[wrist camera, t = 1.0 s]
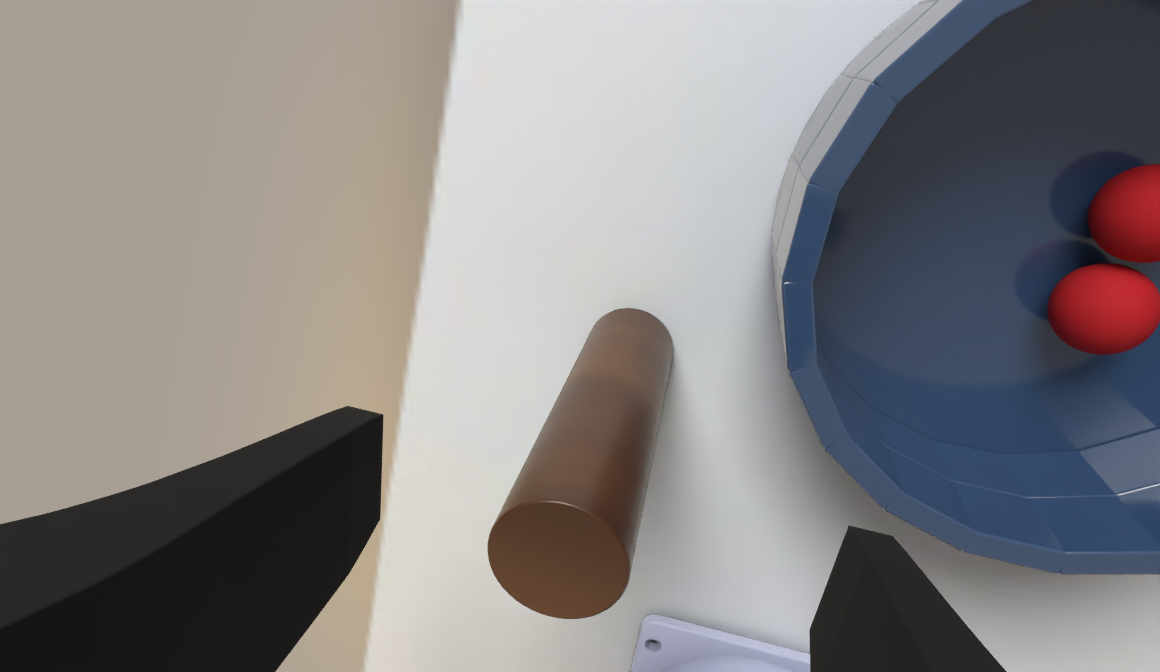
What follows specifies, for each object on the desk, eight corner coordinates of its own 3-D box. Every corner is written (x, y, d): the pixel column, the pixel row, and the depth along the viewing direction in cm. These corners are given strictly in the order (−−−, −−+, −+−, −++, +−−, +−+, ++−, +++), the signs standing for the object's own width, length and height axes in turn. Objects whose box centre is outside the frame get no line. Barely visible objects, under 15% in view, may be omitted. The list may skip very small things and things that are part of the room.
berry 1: (1151, 256, 15) (1205, 284, 14) (1056, 239, 16) (1098, 264, 14) (1194, 165, 15) (1260, 183, 13) (1094, 150, 15) (1143, 164, 13)
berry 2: (1108, 341, 16) (1155, 378, 14) (1018, 325, 17) (1054, 358, 15) (1148, 261, 15) (1203, 289, 14) (1053, 244, 16) (1095, 270, 14)
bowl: (1195, 505, 18) (1331, 639, 14) (724, 404, 20) (722, 497, 15) (1515, -19, 13) (1874, -50, 9) (852, -98, 15) (898, -155, 11)
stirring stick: (664, 394, 20) (617, 635, 12) (583, 376, 20) (480, 599, 12) (681, 317, 19) (641, 521, 11) (594, 299, 19) (492, 485, 11)
